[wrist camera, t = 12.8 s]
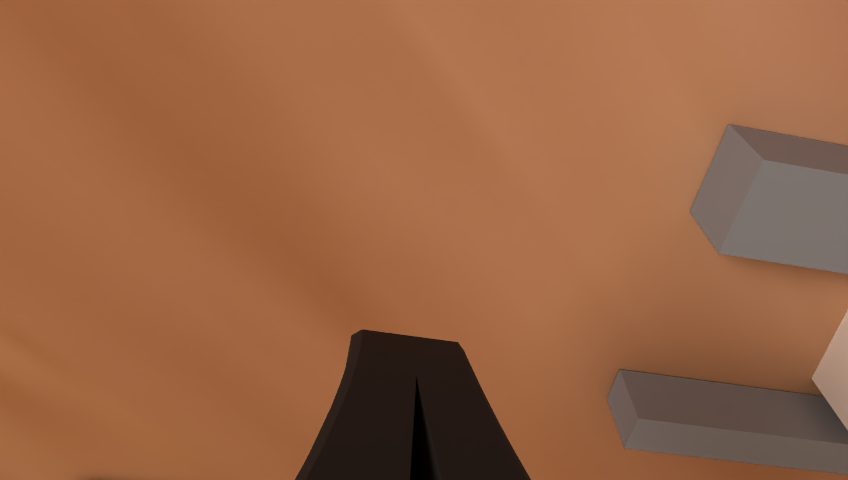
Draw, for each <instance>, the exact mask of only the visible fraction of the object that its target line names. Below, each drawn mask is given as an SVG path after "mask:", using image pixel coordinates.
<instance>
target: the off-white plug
mask: <svg viewBox="0 0 848 480" xmlns="http://www.w3.org/2000/svg"><path fill="white" fill-rule="evenodd" d="M811 379H812V380H813V381H814V383H815V384H816V386H817V387H818V389H819V390H820V392H821V393H822V394H823V396H824V397H825V399H826V400H827V402H828V403H829V404H830V406H831V407H832V409H833V410H834V412H835V413H836V414H837V416H838V417H839V419H840V420H841V422H842V423H843V424H844V426H845V427H846V429H847V430H848V310H847V312H846V314H845V316H844V318H843V320H842V322H841V324H840V325H839V327H838V329H837V331H836V333H835V335H834V337H833V339H832V341H831V342H830V344H829V346H828V348H827V350H826V352H825V354H824V356H823V357H822V359H821V361H820V363H819V365H818V367H817V369H816V371H815V373H814V374H813V376H812V378H811Z"/></svg>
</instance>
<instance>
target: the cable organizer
mask: <svg viewBox="0 0 848 480" xmlns="http://www.w3.org/2000/svg"><path fill="white" fill-rule="evenodd" d="M690 213H691V215H692V216H693V218H694V219H695V221H696V222H697V224H698V225H699V226H700V228H701V229H702V231H703V232H704V234H705V235H706V237H707V238H708V240H709V241H710V242H711V244H712V245H713V247H714V248H715V250H716V251H717V253H718V254H723V255H730V256H736V257H742V258H749V259H755V260H761V261H768V262H774V263H780V264H787V265H793V266H799V267H806V268H812V269H818V270H825V271H831V272H837V273H844V274H848V146H846V145H840V144H835V143H829V142H824V141H818V140H813V139H807V138H802V137H796V136H791V135H785V134H780V133H774V132H769V131H764V130H758V129H753V128H747V127H742V126H736V125H731V124H729V125H728V127H727V129H726V131H725V134H724V136H723V138H722V140H721V143H720V145H719V147H718V149H717V152H716V154H715V156H714V158H713V161H712V163H711V165H710V167H709V170H708V172H707V174H706V176H705V179H704V181H703V183H702V185H701V188H700V190H699V192H698V194H697V197H696V199H695V201H694V203H693V206H692V208H691V210H690ZM607 401H608V403H609V406H610V409H611V412H612V415H613V418H614V421H615V424H616V427H617V430H618V433H619V435H620V438H621V441H622V444H623V447H624V449H633V450H641V451H650V452H658V453H666V454H675V455H683V456H692V457H700V458H709V459H717V460H726V461H734V462H743V463H751V464H759V465H768V466H776V467H785V468H793V469H802V470H810V471H819V472H827V473H836V474H844V475H848V430H847V429H846V427H845V426H844V424H843V423H842V422H841V420H840V419H839V417H838V416H837V414H836V413H835V412H834V410H833V409H832V407H831V406H830V404H829V403H828V402H827V400H826V399H825V397H823V396H816V395H808V394H801V393H793V392H786V391H778V390H771V389H763V388H756V387H748V386H741V385H733V384H726V383H718V382H711V381H703V380H696V379H688V378H681V377H673V376H666V375H658V374H651V373H643V372H636V371H628V370H619V372H618V374H617V377H616V379H615V381H614V383H613V386H612V388H611V390H610V392H609V395H608V397H607Z"/></svg>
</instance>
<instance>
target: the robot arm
mask: <svg viewBox="0 0 848 480" xmlns="http://www.w3.org/2000/svg"><path fill="white" fill-rule="evenodd" d="M295 480H531V479H530V477H529V476H528V474H527V472H526V470H525V469H524V467H523V465H522V463H521V462H520V460H519V458H518V456H517V455H516V453H515V451H514V450H513V448H512V446H511V444H510V442H509V440H508V439H507V437H506V435H505V433H504V431H503V429H502V428H501V426H500V424H499V422H498V420H497V418H496V416H495V414H494V412H493V410H492V408H491V406H490V404H489V402H488V400H487V398H486V396H485V394H484V392H483V390H482V388H481V386H480V384H479V382H478V380H477V378H476V376H475V374H474V372H473V369H472V367H471V365H470V363H469V361H468V359H467V356H466V354H465V352H464V350H463V349H462V347H461V346H460V345H459V343H458V342H452V341H444V340H437V339H429V338H422V337H415V336H407V335H400V334H392V333H385V332H377V331H370V330H360V331H359V332H357V333H355V334H353V335H352V336H351V341H350V347H349V352H348V357H347V363H346V368H345V372H344V375H343V378H342V380H341V383H340V386H339V388H338V391H337V394H336V396H335V399H334V401H333V404H332V406H331V409H330V411H329V413H328V415H327V417H326V419H325V421H324V423H323V426H322V428H321V430H320V432H319V434H318V436H317V438H316V440H315V443H314V445H313V447H312V449H311V451H310V453H309V455H308V457H307V459H306V461H305V463H304V465H303V466H302V468H301V470H300V472H299V473H298V475H297V477H296V479H295Z"/></svg>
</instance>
